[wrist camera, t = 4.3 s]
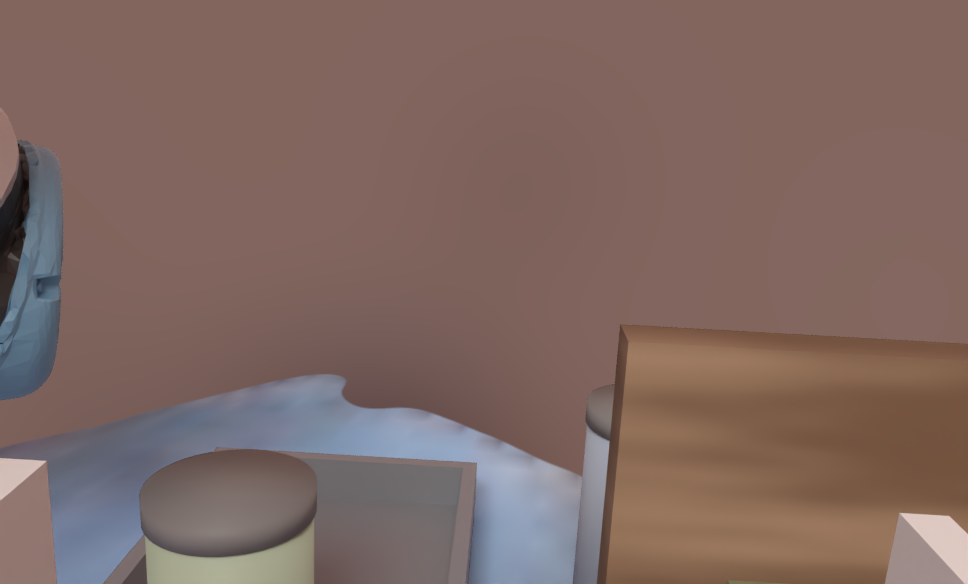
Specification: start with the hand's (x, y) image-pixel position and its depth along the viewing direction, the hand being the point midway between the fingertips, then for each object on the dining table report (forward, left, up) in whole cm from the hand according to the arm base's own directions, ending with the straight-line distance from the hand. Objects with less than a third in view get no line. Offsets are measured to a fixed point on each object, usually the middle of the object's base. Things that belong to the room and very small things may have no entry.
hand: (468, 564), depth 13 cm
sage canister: (-15, +8, -18) cm, 25 cm away
